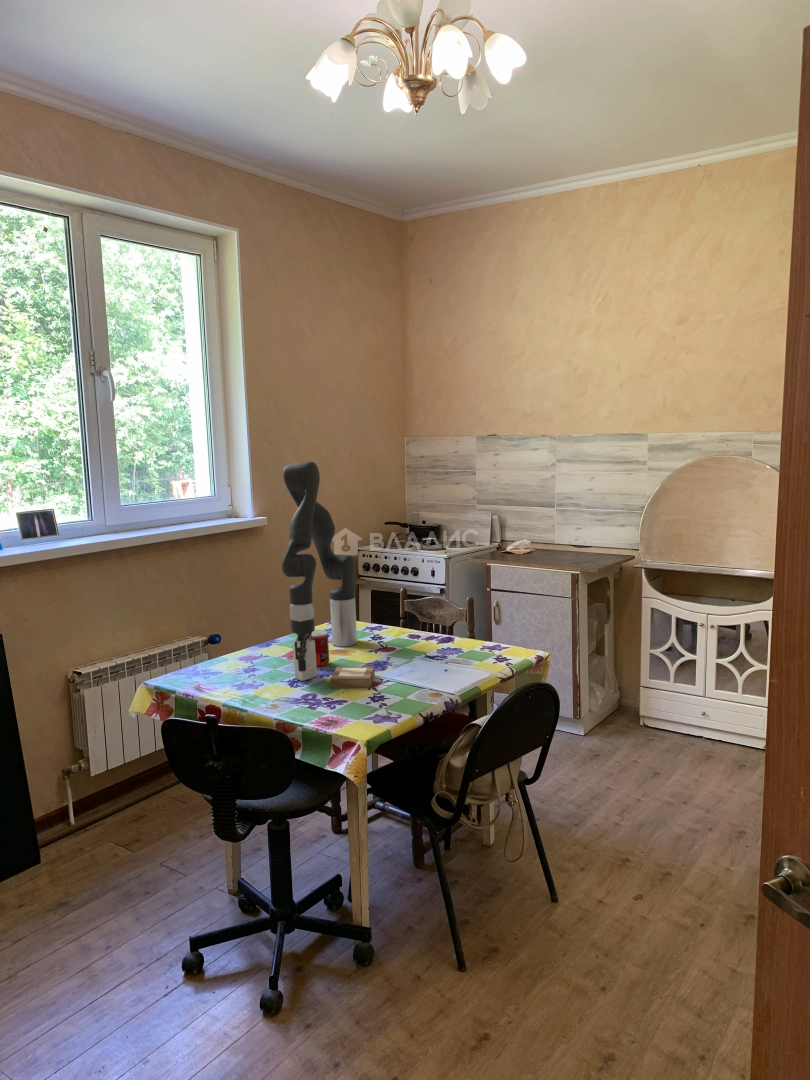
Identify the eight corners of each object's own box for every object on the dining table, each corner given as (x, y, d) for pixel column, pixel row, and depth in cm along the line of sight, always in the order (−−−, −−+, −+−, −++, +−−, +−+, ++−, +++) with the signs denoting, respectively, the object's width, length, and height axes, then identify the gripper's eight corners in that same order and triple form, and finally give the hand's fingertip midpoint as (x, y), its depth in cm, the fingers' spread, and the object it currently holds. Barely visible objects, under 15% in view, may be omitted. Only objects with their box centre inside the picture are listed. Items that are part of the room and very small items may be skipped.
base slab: (337, 675, 238) (337, 666, 238) (374, 675, 237) (374, 665, 237) (330, 688, 227) (330, 678, 226) (369, 688, 226) (369, 678, 225)
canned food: (325, 668, 247) (323, 636, 245) (302, 667, 248) (300, 635, 247) (332, 661, 254) (330, 630, 252) (310, 660, 256) (308, 629, 254)
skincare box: (309, 673, 241) (307, 638, 239) (317, 676, 238) (315, 640, 236) (294, 678, 237) (291, 642, 235) (301, 681, 234) (299, 644, 232)
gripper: (295, 611, 242) (298, 660, 244) (284, 622, 228) (288, 674, 230) (318, 611, 241) (321, 660, 244) (309, 622, 227) (311, 674, 230)
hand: (305, 667), depth 237 cm, fingers closed on skincare box, 7 cm apart
